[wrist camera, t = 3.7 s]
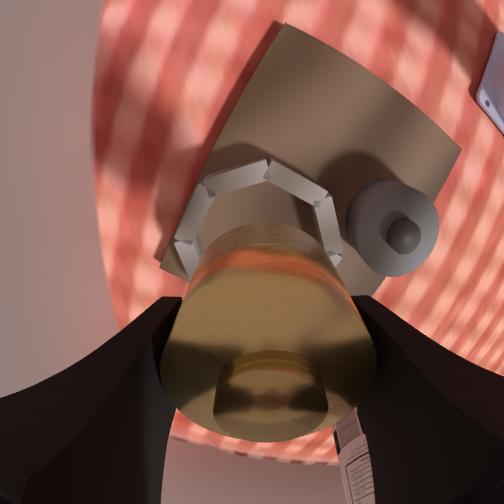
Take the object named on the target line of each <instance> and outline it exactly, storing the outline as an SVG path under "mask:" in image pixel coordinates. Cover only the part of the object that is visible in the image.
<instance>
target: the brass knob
mask: <svg viewBox="0 0 504 504" xmlns="http://www.w3.org/2000/svg"><path fill="white" fill-rule="evenodd" d="M376 371H377V353H376V349H375V346H374V343H373V340H372V338H371V336H370V334H369V332H368V330H367V328H366V326H365V324H364V322H363V320H362V318H361V316H360V314H359V312H358V310H357V308H356V306H355V304H354V302H353V300H352V298H351V297H350V295H349V293H348V291H347V289H346V287H345V285H344V283H343V281H342V279H341V278H340V276H339V274H338V272H337V270H336V268H335V266H334V265H333V263H332V261H331V259H330V257H329V256H328V254H327V253H326V251H325V249H324V248H323V247H322V246H321V245H320V244H319V243H318V242H317V241H316V240H315V239H314V238H313V237H311V236H310V235H308V234H307V233H305V232H304V231H302V230H300V229H297V228H295V227H292V226H289V225H286V224H281V223H276V222H257V223H250V224H246V225H242V226H239V227H236V228H234V229H232V230H230V231H228V232H226V233H224V234H223V235H221V236H220V237H218V238H217V239H216V240H215V241H214V242H213V243H211V244H210V245H209V247H208V248H207V249H206V250H205V252H204V253H203V255H202V256H201V258H200V260H199V262H198V264H197V267H196V269H195V272H194V274H193V277H192V279H191V281H190V284H189V286H188V289H187V291H186V294H185V296H184V299H183V301H182V304H181V306H180V309H179V312H178V314H177V317H176V319H175V322H174V324H173V327H172V330H171V332H170V335H169V338H168V340H167V343H166V346H165V348H164V351H163V354H162V356H161V362H160V377H161V381H162V385H163V387H164V389H165V392H166V394H167V395H168V397H169V399H170V400H171V402H172V403H173V404H174V405H175V406H176V408H177V409H178V410H179V411H180V412H182V413H183V414H184V415H185V416H186V417H188V418H189V419H190V420H192V421H193V422H195V423H197V424H198V425H200V426H202V427H204V428H206V429H208V430H210V431H213V432H215V433H218V434H221V435H224V436H228V437H232V438H237V439H243V440H248V441H254V442H281V441H287V440H291V439H294V438H298V437H301V436H304V435H308V434H311V433H314V432H316V431H319V430H321V429H324V428H326V427H328V426H330V425H332V424H334V423H335V422H337V421H339V420H340V419H342V418H343V417H345V416H346V415H347V414H348V413H350V412H351V411H352V410H353V409H354V408H355V407H356V406H357V405H358V404H359V403H360V402H361V401H362V400H363V398H364V397H365V396H366V394H367V393H368V391H369V389H370V388H371V386H372V383H373V381H374V378H375V375H376Z"/></svg>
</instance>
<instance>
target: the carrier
mask: <svg viewBox="0 0 504 504" xmlns="http://www.w3.org/2000/svg"><path fill="white" fill-rule="evenodd" d="M461 150H462V149H461V148H460V147H459V146H458V145H457V144H456V143H455V142H454V141H453V140H452V139H451V138H450V137H449V136H448V135H447V134H446V133H445V132H444V131H443V130H442V129H441V128H440V127H439V126H438V125H437V124H435V123H434V122H433V121H432V120H431V119H430V118H429V117H428V116H427V115H425V114H424V113H423V112H422V111H421V110H420V109H419V108H417V107H416V106H415V105H414V104H413V103H411V102H410V101H409V100H408V99H406V98H405V97H404V96H403V95H401V94H400V93H399V92H398V91H396V90H395V89H394V88H392V87H391V86H390V85H388V84H387V83H386V82H384V81H383V80H382V79H380V78H379V77H377V76H376V75H375V74H373V73H372V72H370V71H369V70H367V69H366V68H364V67H363V66H361V65H360V64H358V63H357V62H355V61H354V60H352V59H351V58H349V57H347V56H346V55H344V54H343V53H341V52H339V51H338V50H336V49H334V48H333V47H331V46H329V45H327V44H326V43H324V42H322V41H320V40H318V39H317V38H315V37H313V36H311V35H309V34H307V33H305V32H303V31H301V30H299V29H297V28H295V27H293V26H291V25H289V24H287V23H285V24H284V25H283V27H282V28H281V30H280V31H279V33H278V35H277V36H276V38H275V39H274V41H273V42H272V44H271V46H270V47H269V49H268V51H267V52H266V54H265V55H264V57H263V59H262V60H261V62H260V64H259V65H258V67H257V69H256V70H255V72H254V74H253V76H252V77H251V79H250V81H249V82H248V84H247V86H246V88H245V89H244V91H243V93H242V95H241V97H240V98H239V100H238V102H237V104H236V106H235V107H234V109H233V111H232V113H231V115H230V117H229V119H228V120H227V122H226V124H225V126H224V128H223V130H222V132H221V134H220V136H219V138H218V140H217V142H216V144H215V145H214V147H213V149H212V151H211V153H210V155H209V157H208V159H207V162H206V164H205V166H204V168H203V170H202V172H201V174H200V176H199V178H198V180H197V182H196V184H195V187H194V189H193V191H192V193H191V195H190V197H189V199H188V202H187V204H186V206H185V208H184V211H183V213H182V215H181V217H180V220H179V222H178V224H177V226H176V229H175V231H174V233H173V236H172V238H171V241H170V243H169V245H168V248H167V250H166V253H165V255H164V257H163V260H162V262H161V265H160V267H159V268H161V269H163V270H165V271H167V272H169V273H171V274H173V275H175V276H177V277H180V278H182V279H184V280H186V281H188V282H190V281H191V279H192V277H193V274H194V272H195V269H196V267H197V264H198V262H199V260H200V258H201V256H202V255H203V253H204V252H205V250H206V249H207V248H208V247H209V245H210V244H211V243H213V242H214V241H215V240H216V239H217V238H218V237H220V236H221V235H223V234H224V233H226V232H228V231H230V230H232V229H234V228H236V227H239V226H242V225H246V224H250V223H257V222H276V223H281V224H286V225H289V226H292V227H295V228H297V229H300V230H302V231H304V232H305V233H307V234H308V235H310V236H311V237H313V238H314V239H315V240H316V241H317V242H318V243H319V244H320V245H321V246H322V247H323V248H324V249H325V251H326V253H327V254H328V256H329V257H330V259H331V261H332V263H333V265H334V266H335V268H336V270H337V272H338V274H339V276H340V278H341V279H342V281H343V283H344V285H345V287H346V289H347V291H348V293H349V295H350V296H359V295H368V296H370V297H372V295H373V294H374V293H375V291H376V290H377V289H378V287H379V286H380V285H381V283H382V282H383V280H384V279H385V278H386V276H388V277H396V276H402V275H405V274H408V273H410V272H412V271H413V270H415V269H416V268H418V267H419V266H420V265H421V264H422V263H423V262H424V261H425V260H426V259H427V258H428V256H429V255H430V253H431V252H432V250H433V248H434V246H435V243H436V240H437V236H438V230H439V220H438V215H437V211H436V208H435V206H434V204H433V203H434V201H435V199H436V197H437V196H438V194H439V192H440V190H441V188H442V187H443V185H444V183H445V181H446V179H447V177H448V175H449V174H450V172H451V170H452V168H453V166H454V164H455V162H456V160H457V158H458V156H459V154H460V152H461Z"/></svg>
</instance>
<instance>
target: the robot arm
mask: <svg viewBox="0 0 504 504" xmlns="http://www.w3.org/2000/svg"><path fill="white" fill-rule="evenodd" d="M476 100H477V102H478V104H479V105H480V106H481V107H482V109H483V110H484V111H485V112H486V113H487V114H488V116H489V117H490V118H491V119H492V121H493V122H494V123H495V124H496V126H497V127H498V128H499V129H500V131H501V132H502V133H503V135H504V34H503V33H502V32H497V34H496V38H495V41H494V44H493V48H492V51H491V54H490V57H489V60H488V63H487V66H486V69H485V72H484V75H483V77H482V80H481V83H480V85H479V88H478V91H477V93H476ZM485 101H486V104H485ZM350 297H351V298H352V300H353V302H354V304H355V306H356V308H357V310H358V312H359V314H360V316H361V318H362V320H363V322H364V324H365V326H366V328H367V330H368V332H369V334H370V336H371V338H372V340H373V343H374V346H375V349H376V353H377V371H376V375H375V378H374V381H373V383H372V386H371V388H370V389H369V391H368V393H367V394H366V396H365V397H364V398H363V400H362V401H361V402H360V403H359V404H358V405H357V406H356V407H357V410H358V413H359V416H360V419H361V422H362V425H363V428H364V432H365V436H366V440H367V445H368V450H369V456H370V462H371V469H372V476H373V484H374V495H375V504H504V376H501V375H498V374H496V373H494V372H491V371H489V370H487V369H484V368H482V367H480V366H478V365H476V364H473V363H471V362H469V361H468V360H466V359H464V358H462V357H460V356H458V355H456V354H455V353H453V352H451V351H449V350H448V349H446V348H444V347H443V346H441V345H439V344H438V343H436V342H435V341H433V340H432V339H430V338H429V337H427V336H426V335H424V334H423V333H421V332H420V331H418V330H417V329H415V328H414V327H413V326H411V325H410V324H408V323H407V322H406V321H404V320H403V319H401V318H400V317H399V316H397V315H396V314H395V313H393V312H392V311H390V310H389V309H388V308H386V307H385V306H384V305H382V304H381V303H379V302H378V301H376V300H375V299H373V298H372V297H370V296H368V295H359V296H350ZM181 304H182V297H161V298H160V299H158V300H157V301H156V302H155V303H154V304H152V305H151V306H150V307H149V308H148V309H146V310H145V311H144V312H143V313H142V314H140V315H139V316H138V317H137V318H136V319H135V320H133V321H132V322H131V323H130V324H128V325H127V326H126V327H125V328H124V329H122V330H121V331H120V332H119V333H117V334H116V335H115V336H113V337H112V338H111V339H109V340H108V341H107V342H105V343H104V344H103V345H102V346H100V347H99V348H98V349H96V350H95V351H93V352H92V353H90V354H89V355H87V356H86V357H84V358H83V359H81V360H80V361H78V362H76V363H75V364H73V365H72V366H70V367H68V368H67V369H65V370H63V371H61V372H59V373H57V374H55V375H53V376H52V377H49V378H47V379H45V380H43V381H42V382H39V383H38V384H35V385H33V386H31V387H28V388H26V389H24V390H21V391H19V392H16V393H13V394H11V395H8V396H5V397H2V398H0V504H161V490H162V479H163V470H164V462H165V454H166V447H167V442H168V437H169V432H170V429H171V425H172V421H173V418H174V414H175V411H176V406H175V405H174V404H173V403H172V402H171V400H170V399H169V397H168V395H167V394H166V392H165V389H164V387H163V385H162V381H161V377H160V362H161V356H162V354H163V351H164V348H165V346H166V343H167V340H168V338H169V335H170V332H171V330H172V327H173V324H174V322H175V319H176V317H177V314H178V312H179V309H180V306H181Z"/></svg>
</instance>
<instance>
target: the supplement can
mask: <svg viewBox="0 0 504 504" xmlns="http://www.w3.org/2000/svg"><path fill="white" fill-rule="evenodd" d="M331 426H332V431H333V435H334V440H335V445H336V450H337V455H338V460H339V465H340V470H341V475H342V480H343V486H344V492H345V497H346V502H347V504H375V495H374V484H373V476H372V469H371V462H370V456H369V450H368V445H367V440H366V436H365V432H364V428H363V425H362V422H361V419H360V416H359V413H358V410H357V407H355V408H354V409H353V410H352V411H351V412H350V413H348V414H347V415H346V416H345V417H343V418H342V419H340V420H339V421H337V422H335V423H334V424H332V425H331Z"/></svg>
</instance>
